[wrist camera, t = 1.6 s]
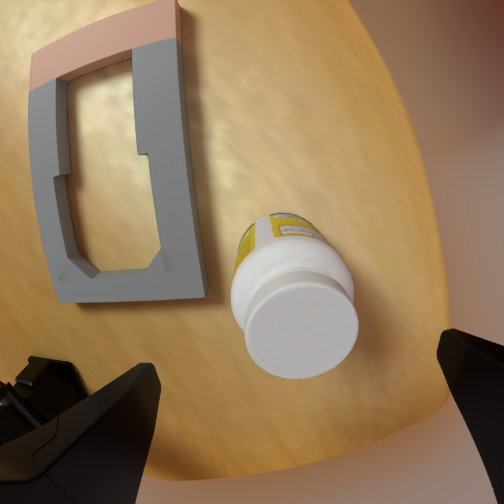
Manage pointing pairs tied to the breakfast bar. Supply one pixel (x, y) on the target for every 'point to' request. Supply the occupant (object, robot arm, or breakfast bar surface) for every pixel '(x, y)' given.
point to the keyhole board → (148, 143)
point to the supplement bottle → (293, 298)
